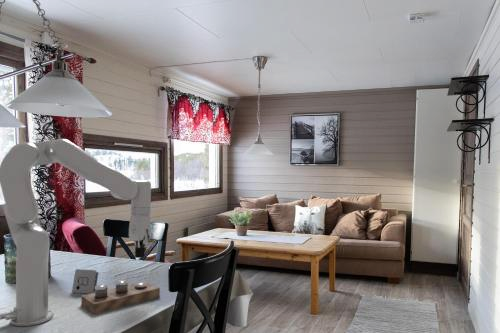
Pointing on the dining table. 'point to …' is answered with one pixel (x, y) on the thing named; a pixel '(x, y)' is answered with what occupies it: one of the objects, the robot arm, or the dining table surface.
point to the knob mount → (119, 298)
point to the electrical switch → (84, 281)
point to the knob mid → (121, 286)
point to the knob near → (101, 291)
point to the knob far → (140, 285)
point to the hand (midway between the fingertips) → (139, 257)
